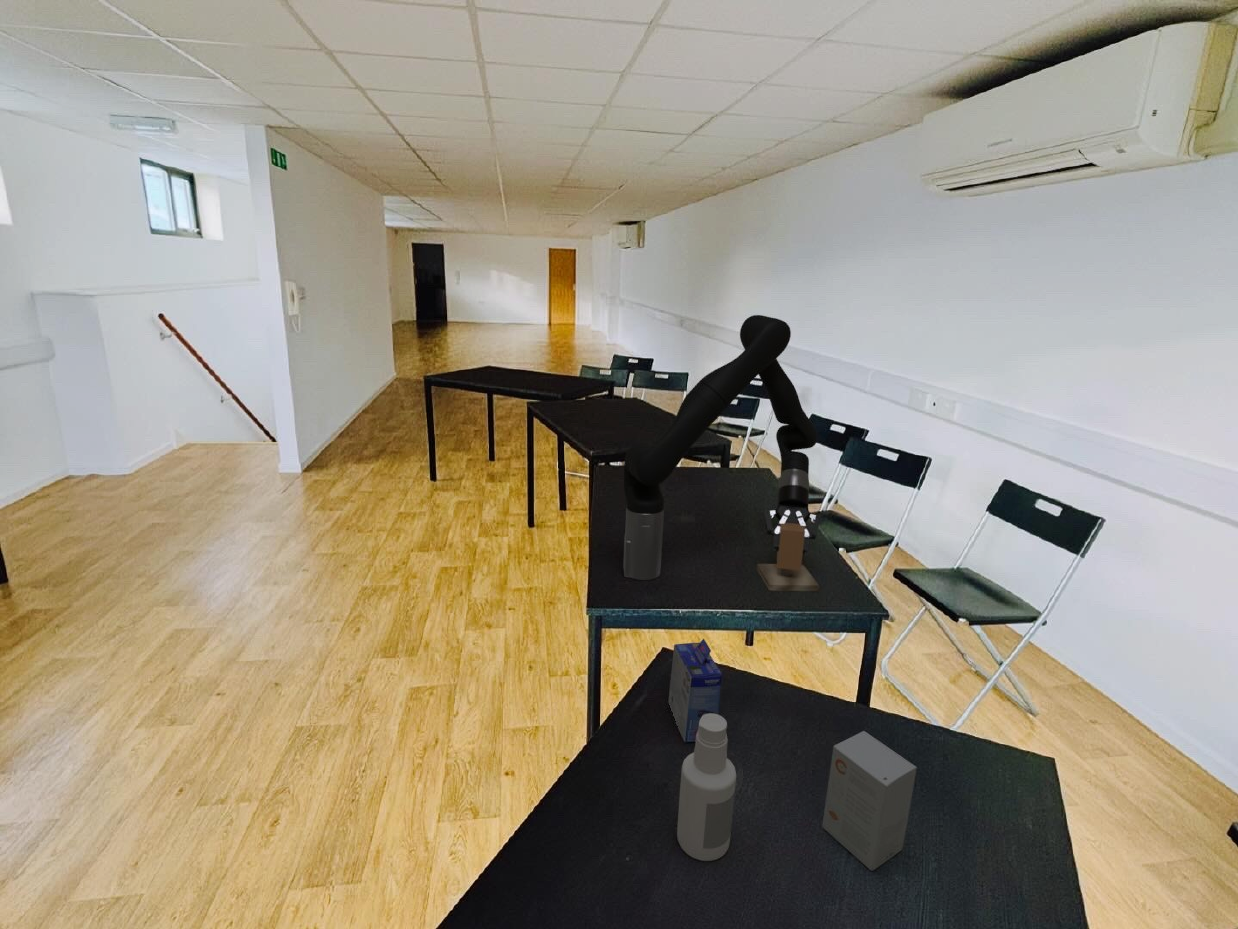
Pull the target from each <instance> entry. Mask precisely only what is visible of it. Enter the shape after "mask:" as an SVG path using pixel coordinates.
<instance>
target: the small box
mask: <svg viewBox="0 0 1238 929" xmlns="http://www.w3.org/2000/svg"><path fill="white" fill-rule="evenodd" d="M917 769H918V768H917V766H916V765H914V764H913V763H911V762H910V761H909V760H907V759H905V758H904V757H903V756H901V755H900V754H898V753H897V752H895V751H894V750H893V749H891V748H889V747H888V746H887V745H885V744H883V743H882V742H881V741H880V740H878V739H877V738H875V737H873V736H872V735H870V734H869V733H868V732H866V731H865V730H862V731H861V732H859V733H857V734H855V735H853V736H851V737H849V738H847V739H845V740H843V741H841V742H839V743H836V744H833V748H832V754H831V761H830V769H829V776H828V784H827V789H826V795H825V797H826V798H825V803H824V810H823V817H822V823H821V827H822V829H823V830H825V831H826V832H827V833H828V834H829V835H830V836H832V838H833V839H835V840H836V841H837V842H838V843H839V844H840V845H841V846H842V847H844V848H845V849H846V850H847V851H848V852H850V854H852V855H853V856H854V857H855V858H856V859H857V860H858V861H859V862H861V864H863V865H864V866H865V867H866V868H867V869H869V871H871V872H873V871H874V870H876V869H877V868H879V867H880V866H882V865H883V864H885V863H886V862H888V861H889V860H890V859H892V858H893V857H894V856H896V855H897V854H898V853H900V852H901V851H902V850H903V847H904V842H905V837H906V832H907V826H908V820H909V814H910V809H911V803H912V797H913V791H914V785H915V780H916V774H917Z"/></svg>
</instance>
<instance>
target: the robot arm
mask: <svg viewBox="0 0 1238 929" xmlns="http://www.w3.org/2000/svg"><path fill="white" fill-rule="evenodd" d="M791 332H792V330H791V327H790V325H789V324H788V323H787V322H786V321H784V320H782V319H779V318H777V317H776V318H775V317H771V316H768V315H767V316H766V315H762V314H755V315H751V316H749V317H748V318H746V319H745V320H744V321H743V322H742V325H741V327H740V329H739V340H740V342H741V345H742V347H743V349H744V350H743V351H742V352H741V353H740V355H738V356H737V357H736V358H733V360H731V361H729V362H728V363H726V364H724V365H722V366H720V367H718V368H716V369H714V370H713V371H711V372H709V373H707V374H706V375H704V377H702V378H701V379H700V380H699V381H698V382H697V383H696V384H695V385H694V386H693V387H692V389H691V390H690V391H689V392H688V393H687V394H686V396H684V398H683V400H682V401H681V404H680V406H679V409H678V410H677V414H676V416H675V418H674V420H673V423H672V424H671V426H670V428H668V430H667V431H666V433H665V434H663V436H662V437H661V438H660V439H659V440H658V441H657V442H655V443H654V444H653V443H652V442H649V441H638V442H635V443H633V444H632V445H631V446H630V447H629V449H628V450H627V452H626V454H625V457H624V461H623V462H624V463H623V492H624V497H625V502H626V506H625V507H626V508H625V532H624V534H623V535H624V540H623V542H624V543H623V561H622V562H623V565H622V566H623V567H622V568H623V575H624V578H631V579H633V580H637V581H638V580H639V581H648V580H649V581H651V580H654V579H657V578H658V577H659V576H660V575H661V569H662V568H661V567H662V548H663V531H664V530H663V529H664V515H665V514H664V513H665V511H664V510H665V497H664V495H663V493H662V492H661V488H660V484H662V483H663V482H664V481H666V480H667V479H668V477H670V476H671V474H672V473H673V471H674V470H675V469H676V467H678V465H679V463H680V462H681V460H683V458H684V457H685V455H686V454H687V452H688V451H689V450H690V449H691V448H692V447H693V445H694V444H695V443H696V442H697V441H698V440H699V439H700V437H702V435H703V434H704V433H705V432H706V431H707V430H708V429H709V427H711V425H712V424H714V422H715V421H716V420H717V419H718V418H719V417H720V416H722V414H723V413H724V412H725V411H726V409H728V408H729V406H730V405H731V404H732V403H733V401H734V400H736V398H737V397H738V396H739V395H740V394H741V393H742V392H743V391H744V390H745V389H746V387H748V385H750V383H751V382H752V381H753V380H755V378H756V377H757V376H759V379H760V380H761V382H762V385H763V387H764V388H765V391H766V393H767V396H768V398H769V401H770V406H771V408H772V410H773V414H774V416H775V419H776V421H777V422H778V423H780V424H783V425H781V426H780V427H779V428H778V429H777V431H776V433H775V437H776V442H777V446H778V450H779V454H780V462H781V463H780V464H781V466H780V475H779V476H780V477H779V479H778V480H779V481H778V489H777V490H778V496H777V507H776V508H775V510H774V509H773V510H770V509H769V508H766V509H765V510H764V516H763V517H764V522H765V529H766V534H767V535H768V536H769V535H771V536H772V537H773V542H772V544H773V545H772V547H773V549H775V552H777V551H779V540H780V535H779V533H780V525H781V523H782V524H784V523H795V524H800V525H802V526H804V529H805V537H804V546H803V554H802V555H806V553H808V551H809V541H810V540H816V538H817V534H818V530H819V526H820V522H821V518H822V516H821V514H819V513H817V514H812V513H811V512H810V510H809V501H810V500H809V499H810V498H809V497H810V480H809V479H810V476H809V475H810V474H809V470H810V459H809V456H808V455H807V454H805V453H804V452H801V451H797V450H806V449H807V450H808V449H811V448H814V446H815V445H816V444H817V442H818V430H817V428H816V427H815V425H814V423H813V422H812V421H811V419H810V418H809V417H808V415H807V414H806V413H805V411H804V409H803V408H802V404H801V401H800V397H799V395H798V392H797V389H796V387H795V386H794V384H793V382H792V380H791V379H790V378H789V376H788V375H787V373H786V372H785V371H784V369H783V367H782V365H780V362H779V361H778V357H779V356H781V355H782V353H783V352H784V351H785V349H787V347H788V345H789V343H790V340H791V336H792V333H791ZM774 517H776V518H777V520H778V521H779V522H778V525H777V526H776V527H775V528H773V524H772V520H773V519H774ZM809 519H810V523H811V524H813V526H812V530H811V532H809V530H808V528H807V525H806V523H807V521H809Z"/></svg>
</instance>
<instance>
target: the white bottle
mask: <svg viewBox="0 0 1238 929" xmlns="http://www.w3.org/2000/svg"><path fill="white" fill-rule="evenodd" d="M727 729H728V723H727V720H726V719H725V718H724V717H723V716H721V715H720V714H718V715H717V714H712V713H709V714H705V715H703V716H702V717H701V719H700V721H699V729H698V732H697V734H696V742H695V745H694V750H693V752H692V753H689V754H688V755H687V756H686V758H684V760H683V761H682V765H681V772H680V787H679V802H678V814H677V815H678V816H677V827H676V828H677V829H676V835H677V838H676V839H677V841H678V844H679V845H680V848H681V850H683V851H684V852H685V854H687V856H690V857H691V858H692V859H695V860H699V861H701V862H712V861H716V860H719V859H721V857H723V856H725V854H726V852H727V851H728V849H729V848H730V843H731V833H732V824H733V823H732V822H733V814H734V813H733V812H734V804H735V803H734V802H735V795H736V794H735V793H736V792H735V791H736V784H737V773H736V767H735V765H734V764H733V762H732V761H731V760H730V759H729V758H728V753H727V750H728V742H729V741H728V740H729V739H728V736H727Z"/></svg>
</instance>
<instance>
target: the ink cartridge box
mask: <svg viewBox="0 0 1238 929" xmlns="http://www.w3.org/2000/svg"><path fill="white" fill-rule="evenodd" d="M711 652H712V650H711V648H710V647H709V645H708V643H707V642H706V640H705V639H704V638H702V639H701V641H700V642H687V643H676V644H674V645H673V655H672V665H671V672H670V673H671V674H670V681H669V682H670V683H669V690H668V691H669V692H668V702H667V703H669V705H670V708H671V711H672V712H673V715H672V717H673V716H674V718H675V720H674V722H675V721H676V722H675V724H676V727H677V726H678V727H677V729H678V731H679V733H680V736H681V738H682V740H683V742H684V743H694V742H695V743H696V734H697V732H698V729H699V721H700V719H701V717H702V716H703V715H705V714H709V713H712V714H717V715H719V707H720V697H721V688H722V679H723V673H722V671H721V670H720V668H719V667H718V665H717V663H716V661H715V660H714V659H713V657H712V656H711V654H710V653H711ZM671 711H670V712H671ZM674 718H673V719H674Z"/></svg>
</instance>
